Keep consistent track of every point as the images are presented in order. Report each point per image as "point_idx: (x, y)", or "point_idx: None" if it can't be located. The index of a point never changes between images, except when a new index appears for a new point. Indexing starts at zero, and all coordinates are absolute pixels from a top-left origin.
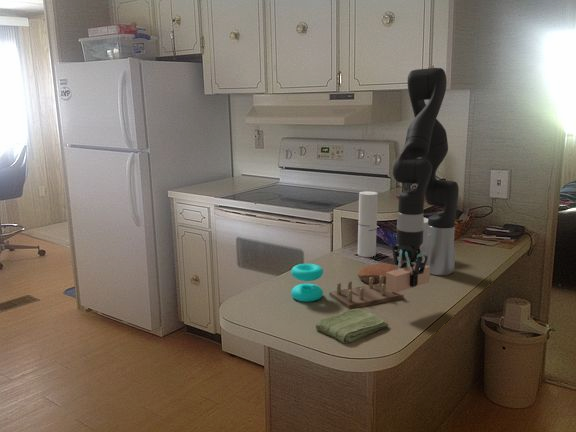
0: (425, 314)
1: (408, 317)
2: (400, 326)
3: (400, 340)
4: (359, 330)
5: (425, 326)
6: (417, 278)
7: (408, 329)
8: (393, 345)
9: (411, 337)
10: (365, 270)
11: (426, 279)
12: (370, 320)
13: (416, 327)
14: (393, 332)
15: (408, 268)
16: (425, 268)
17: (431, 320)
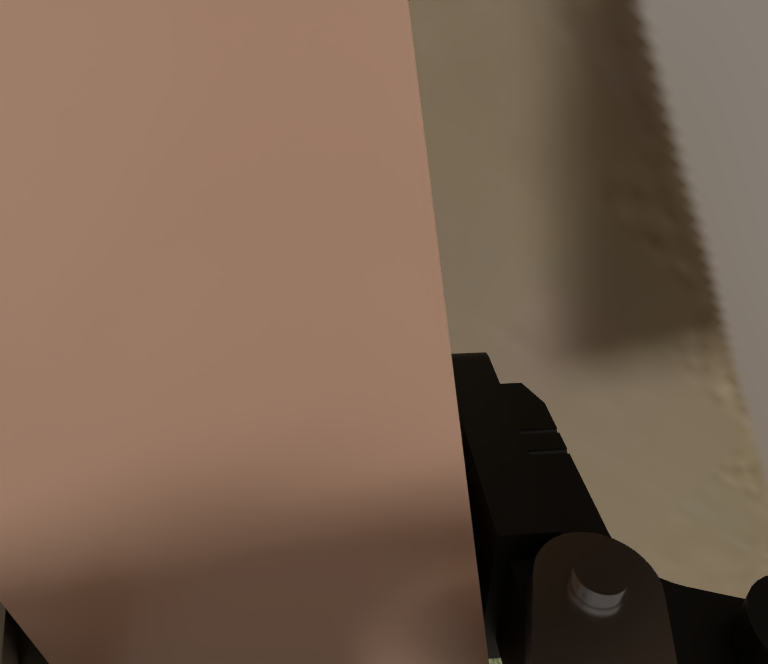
0: (502, 95)
1: (469, 301)
2: (571, 443)
3: (724, 534)
4: None
5: (700, 279)
6: (581, 486)
7: (646, 421)
8: (737, 586)
9: (747, 465)
10: None
11: None
12: (501, 662)
13: (662, 354)
14: (613, 520)
15: (220, 660)
16: (417, 135)
17: (651, 142)
